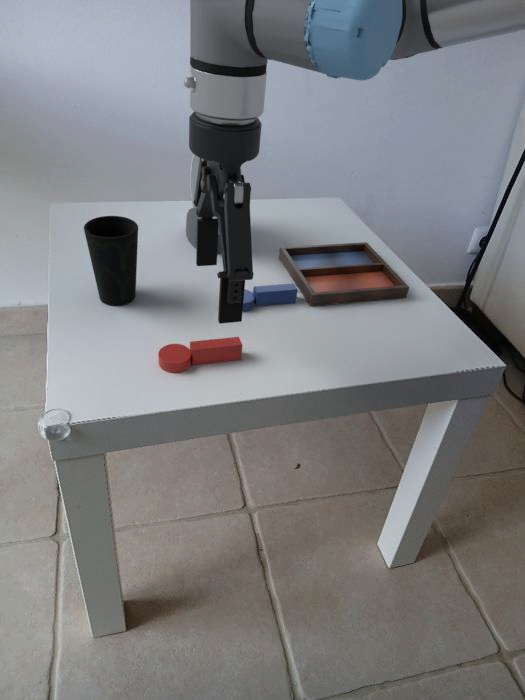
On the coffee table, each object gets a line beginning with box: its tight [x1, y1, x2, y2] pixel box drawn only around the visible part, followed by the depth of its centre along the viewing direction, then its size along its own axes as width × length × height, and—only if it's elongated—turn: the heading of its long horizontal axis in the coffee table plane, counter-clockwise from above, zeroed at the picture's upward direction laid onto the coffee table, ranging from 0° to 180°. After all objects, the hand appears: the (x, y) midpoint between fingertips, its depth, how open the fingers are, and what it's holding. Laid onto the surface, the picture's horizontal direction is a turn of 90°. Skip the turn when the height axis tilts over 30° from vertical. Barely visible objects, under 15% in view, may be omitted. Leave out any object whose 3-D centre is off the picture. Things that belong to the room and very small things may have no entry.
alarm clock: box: [185, 153, 222, 255], centre depth 98 cm, size 16×10×18 cm, turn 23°
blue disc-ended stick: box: [243, 282, 299, 312], centre depth 86 cm, size 11×4×3 cm, turn 106°
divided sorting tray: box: [278, 241, 410, 307], centre depth 95 cm, size 18×17×2 cm
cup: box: [83, 215, 139, 307], centre depth 80 cm, size 8×8×12 cm
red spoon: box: [157, 336, 243, 374], centre depth 72 cm, size 11×4×3 cm, turn 106°
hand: (217, 290), depth 67 cm, fingers open, 13 cm apart
